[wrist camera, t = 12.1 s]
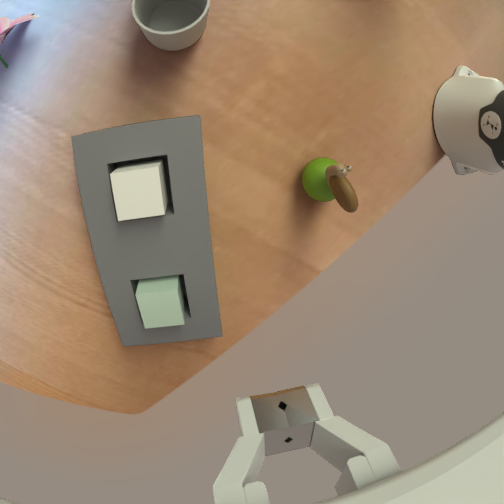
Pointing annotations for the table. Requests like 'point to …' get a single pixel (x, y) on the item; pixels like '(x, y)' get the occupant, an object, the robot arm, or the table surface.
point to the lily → (11, 27)
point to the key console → (151, 226)
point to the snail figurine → (329, 183)
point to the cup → (171, 21)
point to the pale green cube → (161, 301)
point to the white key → (139, 190)
